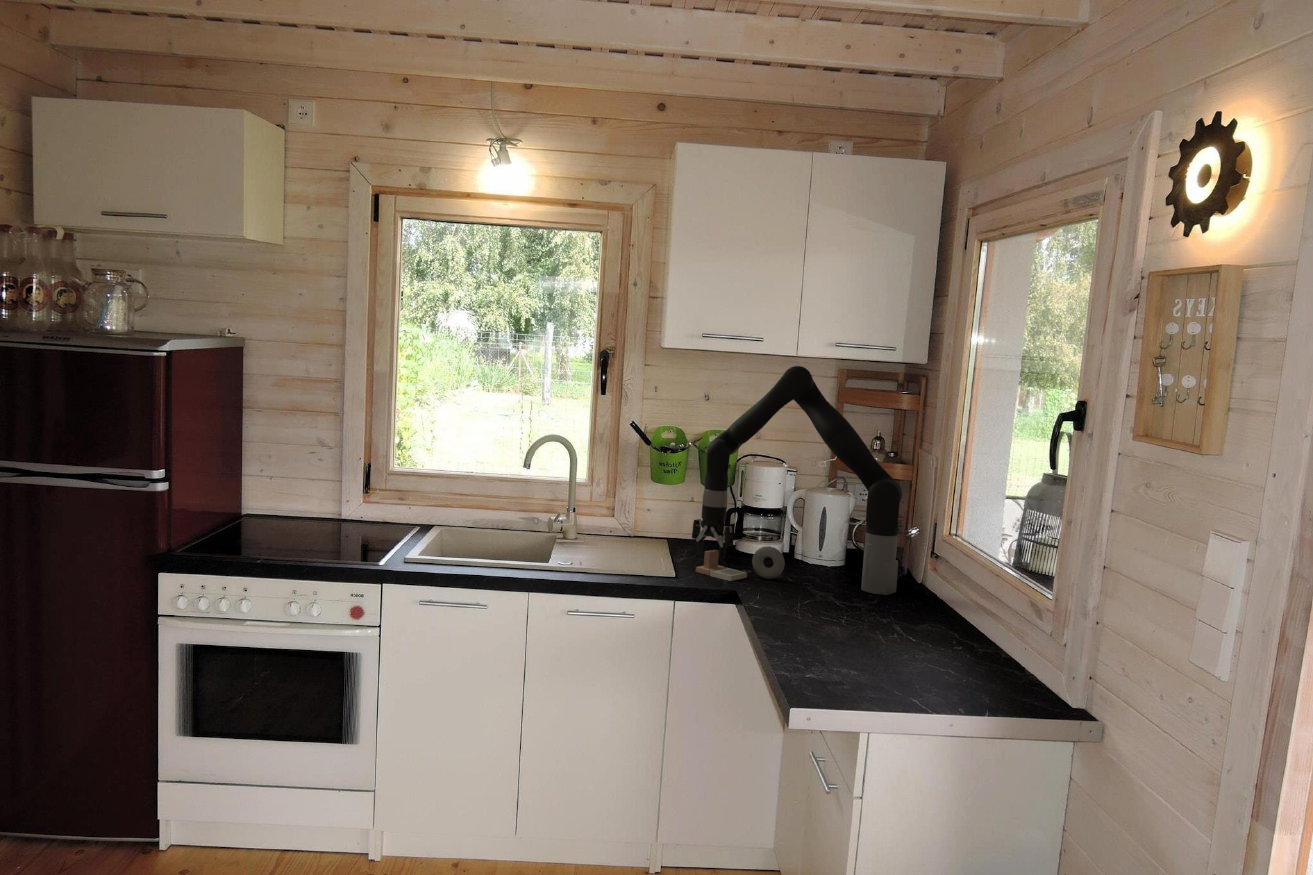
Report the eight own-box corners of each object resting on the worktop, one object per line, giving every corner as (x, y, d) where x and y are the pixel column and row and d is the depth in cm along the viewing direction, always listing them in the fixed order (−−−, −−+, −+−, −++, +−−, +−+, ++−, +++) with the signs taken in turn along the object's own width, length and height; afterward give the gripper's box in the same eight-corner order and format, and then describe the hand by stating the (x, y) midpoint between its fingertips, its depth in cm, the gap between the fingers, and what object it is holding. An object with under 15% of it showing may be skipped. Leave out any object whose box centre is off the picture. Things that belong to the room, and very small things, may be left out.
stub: (724, 571, 286) (726, 551, 286) (708, 575, 280) (709, 553, 280) (712, 568, 290) (713, 548, 289) (695, 571, 284) (697, 550, 283)
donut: (749, 577, 281) (751, 544, 280) (752, 575, 284) (755, 543, 284) (781, 582, 277) (784, 549, 277) (784, 580, 281) (787, 547, 280)
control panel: (746, 577, 281) (747, 572, 281) (730, 581, 275) (730, 575, 275) (725, 572, 286) (726, 567, 286) (709, 575, 280) (709, 570, 280)
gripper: (740, 506, 281) (736, 559, 283) (704, 499, 291) (700, 550, 292) (725, 508, 276) (721, 562, 277) (689, 501, 285) (685, 553, 287)
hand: (710, 556), depth 285 cm, fingers open, 8 cm apart
